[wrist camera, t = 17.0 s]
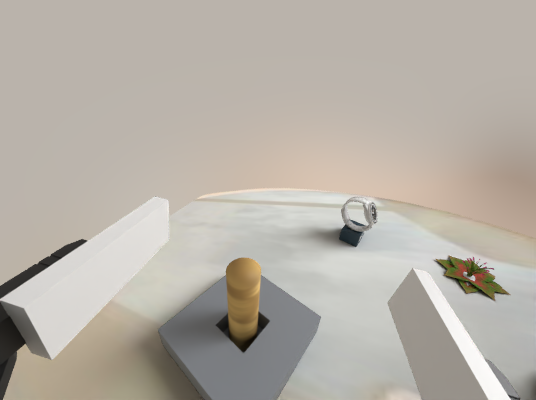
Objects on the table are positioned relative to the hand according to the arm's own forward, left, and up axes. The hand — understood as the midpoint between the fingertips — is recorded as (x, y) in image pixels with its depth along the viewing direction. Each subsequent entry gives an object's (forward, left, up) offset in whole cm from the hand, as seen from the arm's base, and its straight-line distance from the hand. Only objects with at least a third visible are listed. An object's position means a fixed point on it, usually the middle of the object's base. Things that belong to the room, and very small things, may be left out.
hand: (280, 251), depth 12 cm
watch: (-40, -4, -26) cm, 48 cm away
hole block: (-5, -8, -26) cm, 27 cm away
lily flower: (-45, +20, -27) cm, 56 cm away
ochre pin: (-5, -8, -25) cm, 27 cm away
